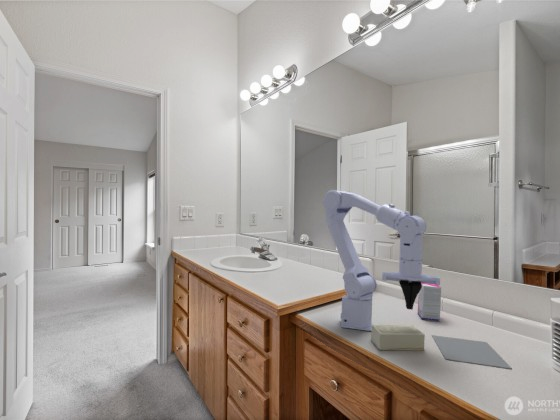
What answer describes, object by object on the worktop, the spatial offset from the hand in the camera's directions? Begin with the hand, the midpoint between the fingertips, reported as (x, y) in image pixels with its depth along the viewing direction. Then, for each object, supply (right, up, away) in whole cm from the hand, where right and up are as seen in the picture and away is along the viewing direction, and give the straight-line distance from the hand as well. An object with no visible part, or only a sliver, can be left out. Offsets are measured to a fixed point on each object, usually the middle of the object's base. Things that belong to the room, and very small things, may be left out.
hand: (409, 308), depth 80 cm
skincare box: (+2, -7, -1) cm, 8 cm away
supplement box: (+15, -10, +20) cm, 27 cm away
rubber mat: (+14, -10, -4) cm, 17 cm away
